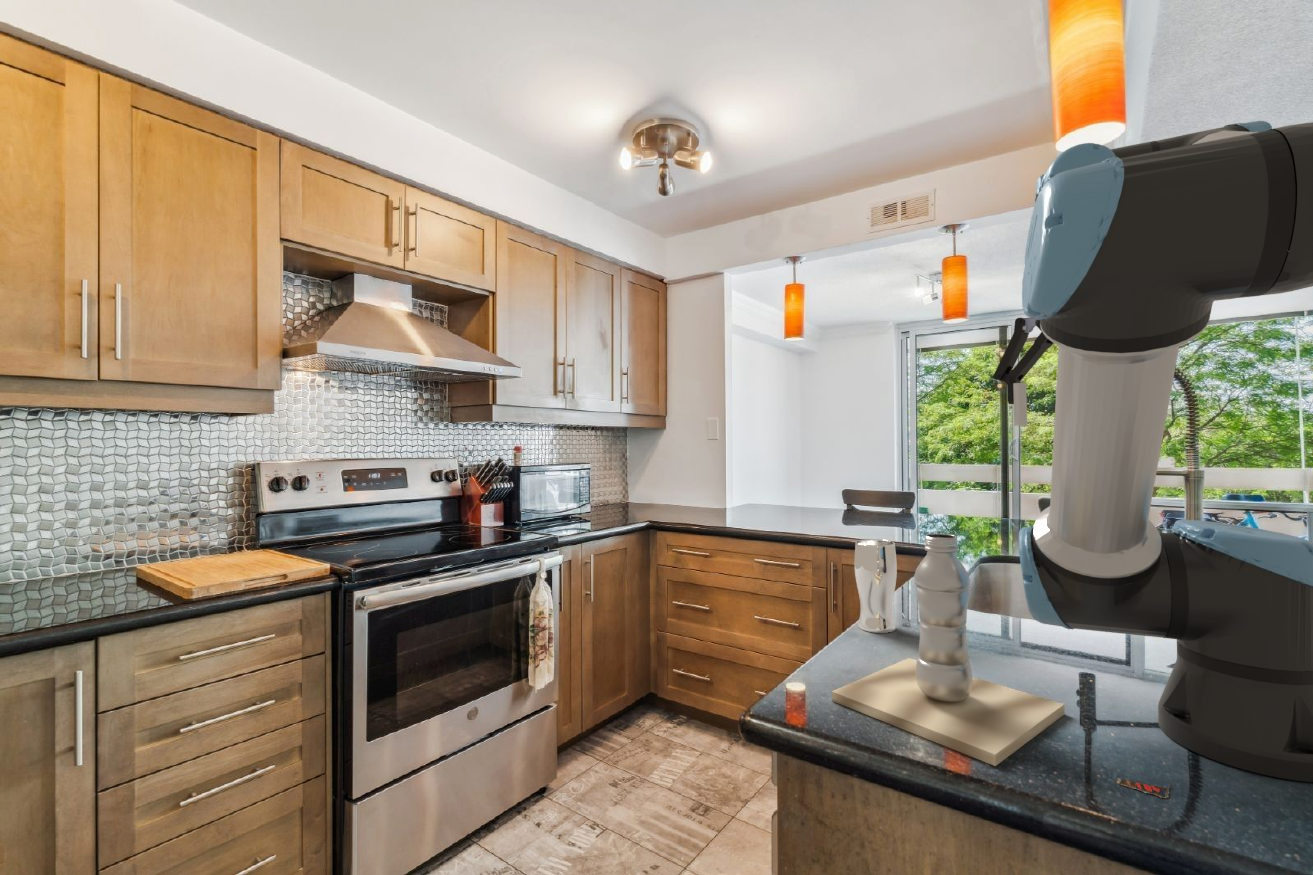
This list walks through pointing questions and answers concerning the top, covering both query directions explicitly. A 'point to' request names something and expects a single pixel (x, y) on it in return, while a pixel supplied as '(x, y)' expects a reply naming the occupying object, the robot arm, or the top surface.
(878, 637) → the top surface
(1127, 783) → the red brown flat piece
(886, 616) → the beer glass
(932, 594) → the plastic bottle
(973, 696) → the birch board
